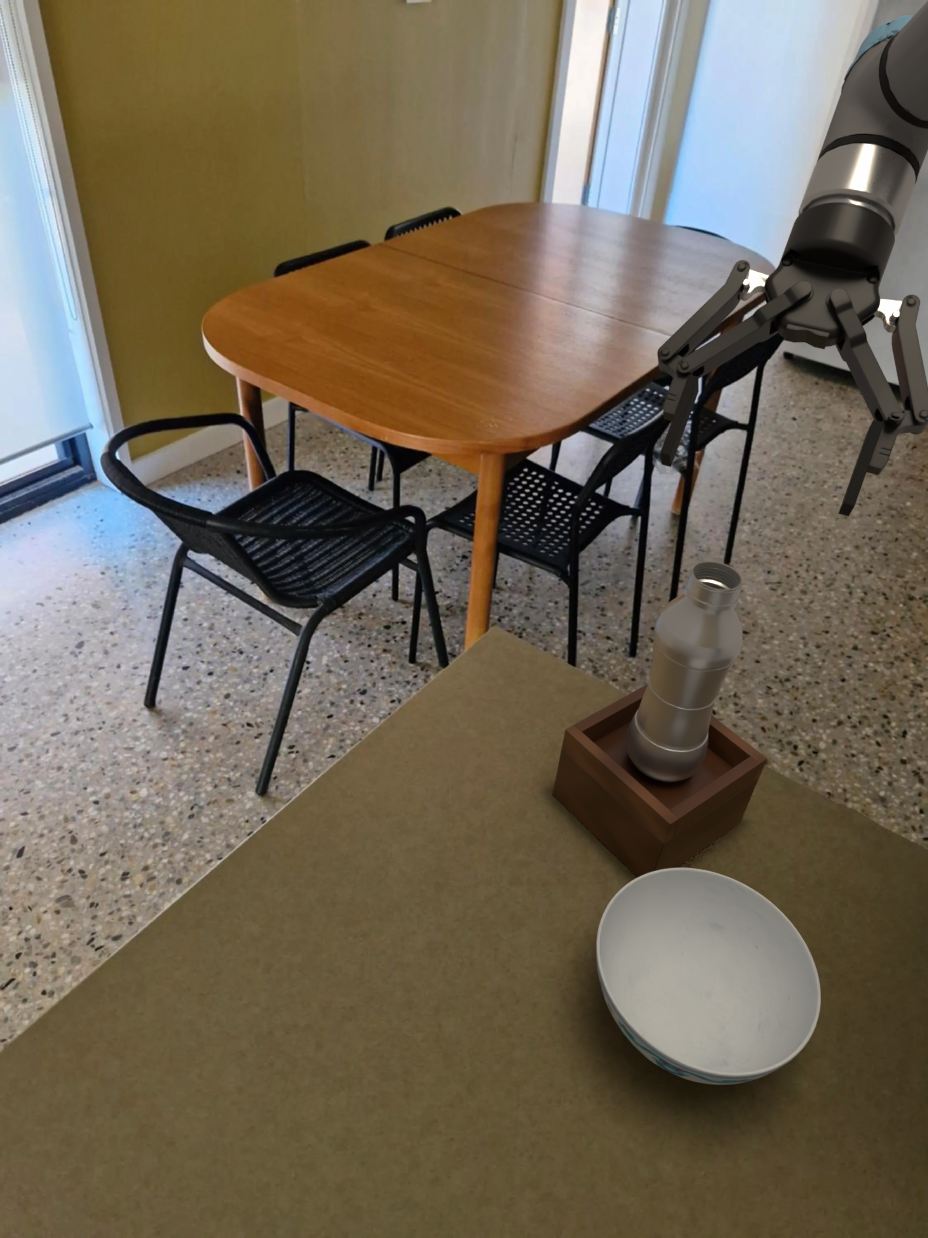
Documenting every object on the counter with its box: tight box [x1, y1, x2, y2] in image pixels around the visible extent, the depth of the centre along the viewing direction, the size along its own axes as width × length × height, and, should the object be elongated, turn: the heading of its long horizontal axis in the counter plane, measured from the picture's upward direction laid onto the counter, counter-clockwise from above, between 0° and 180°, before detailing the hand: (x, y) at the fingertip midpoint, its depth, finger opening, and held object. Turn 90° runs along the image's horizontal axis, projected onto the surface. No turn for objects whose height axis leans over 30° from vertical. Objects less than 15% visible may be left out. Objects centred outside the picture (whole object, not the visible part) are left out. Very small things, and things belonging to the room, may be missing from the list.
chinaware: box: [595, 867, 822, 1086], centre depth 63 cm, size 15×15×8 cm
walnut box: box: [552, 683, 768, 878], centre depth 77 cm, size 12×12×8 cm
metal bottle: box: [627, 560, 744, 782], centre depth 70 cm, size 6×7×20 cm
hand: (752, 484), depth 67 cm, fingers open, 13 cm apart
